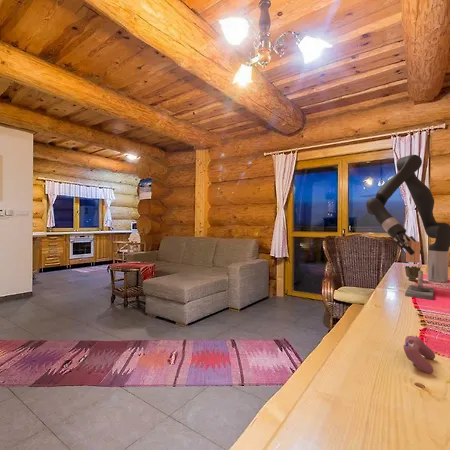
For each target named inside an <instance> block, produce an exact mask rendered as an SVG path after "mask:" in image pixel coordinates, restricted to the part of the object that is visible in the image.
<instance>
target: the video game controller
mask: <svg viewBox="0 0 450 450" xmlns="http://www.w3.org/2000/svg"><path fill="white" fill-rule="evenodd" d="M404 343H405V344H403V351H404V353H405V356H406V357H407V359H408V360H409V361H411V364H413V365H414V366H415V367H417V369H420V371H422V372H424V373H425V374H430V375H431V374H432V373H434V367H433V366H432V364H431V363H430V362H429V361H428V360H434V359H436V354H435V352H434V351H433V350H432V349H431V348H430V347H429V346H427V344H425V343H424V342H423V340H421V338H420V337H418V336H417V335H408V336H406V338H405V340H404ZM427 359H428V360H427Z"/></svg>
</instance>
